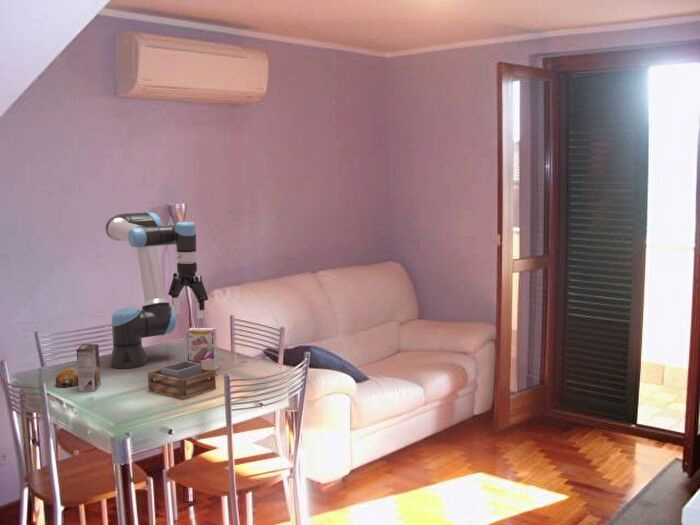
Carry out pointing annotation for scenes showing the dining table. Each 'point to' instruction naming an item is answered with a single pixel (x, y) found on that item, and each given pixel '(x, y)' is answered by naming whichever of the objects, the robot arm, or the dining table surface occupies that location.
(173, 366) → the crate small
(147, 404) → the dining table surface
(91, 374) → the coffee box
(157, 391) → the crate big
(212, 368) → the architectural model
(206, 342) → the candy bar box
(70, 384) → the bread roll
